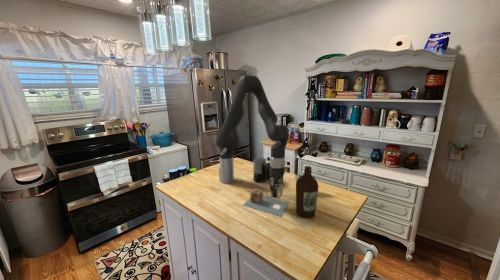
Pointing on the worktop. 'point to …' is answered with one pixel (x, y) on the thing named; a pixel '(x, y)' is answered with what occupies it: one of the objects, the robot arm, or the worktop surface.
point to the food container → (298, 177)
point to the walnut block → (256, 196)
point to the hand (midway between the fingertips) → (276, 194)
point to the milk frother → (261, 170)
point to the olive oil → (306, 194)
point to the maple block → (278, 191)
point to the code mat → (269, 205)
